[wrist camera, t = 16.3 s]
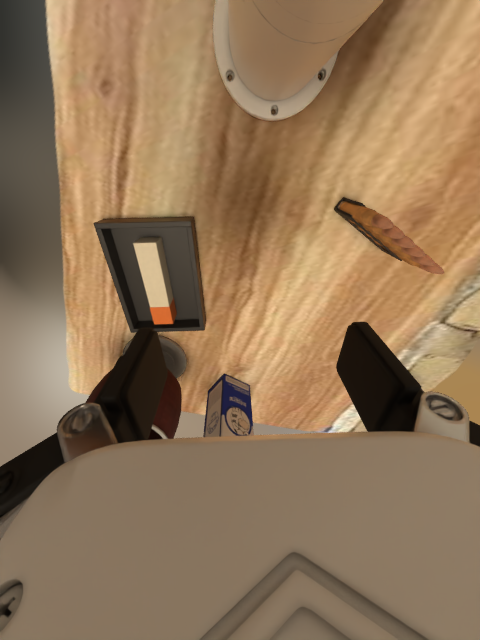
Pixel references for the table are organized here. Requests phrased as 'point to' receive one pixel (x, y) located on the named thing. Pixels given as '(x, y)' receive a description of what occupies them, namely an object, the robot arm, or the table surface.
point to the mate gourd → (171, 394)
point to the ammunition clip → (385, 235)
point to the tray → (180, 265)
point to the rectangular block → (156, 279)
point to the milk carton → (228, 409)
